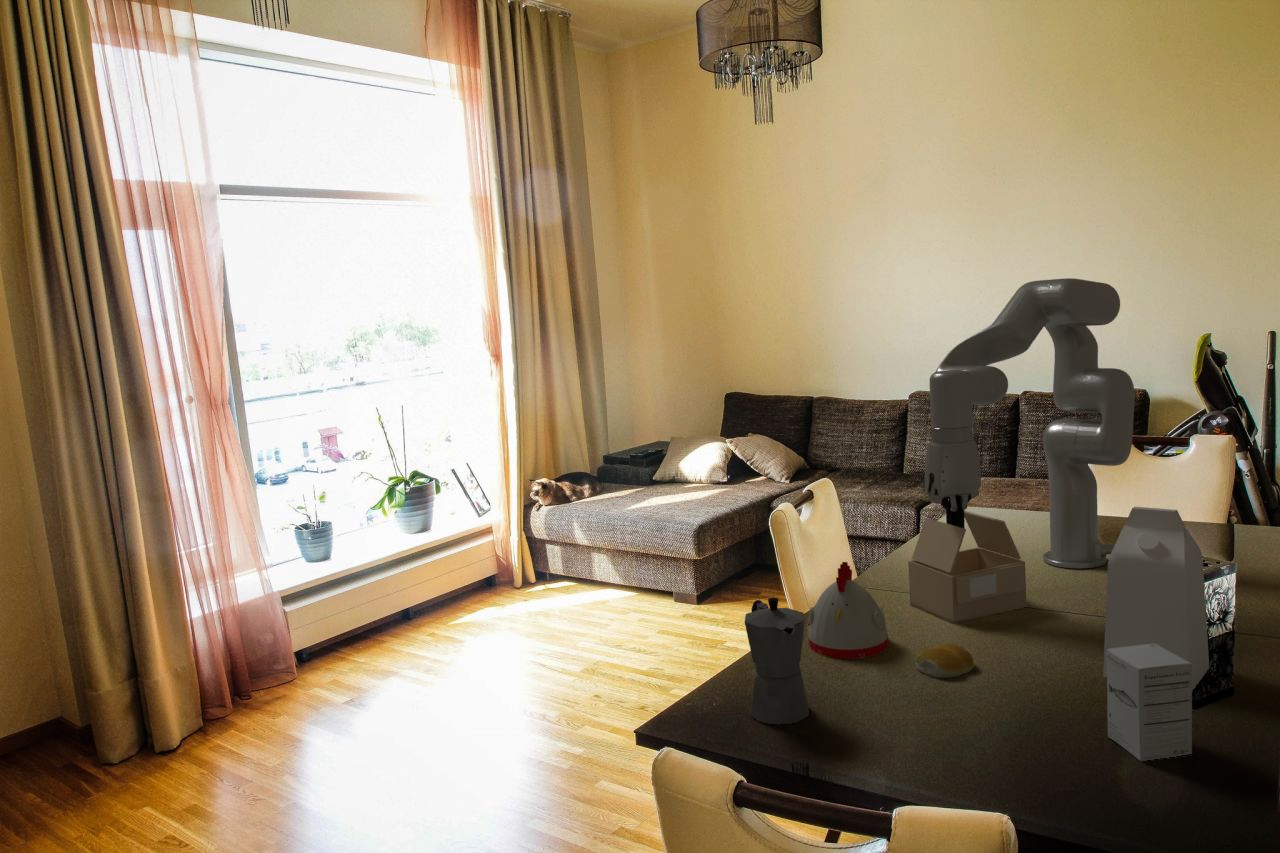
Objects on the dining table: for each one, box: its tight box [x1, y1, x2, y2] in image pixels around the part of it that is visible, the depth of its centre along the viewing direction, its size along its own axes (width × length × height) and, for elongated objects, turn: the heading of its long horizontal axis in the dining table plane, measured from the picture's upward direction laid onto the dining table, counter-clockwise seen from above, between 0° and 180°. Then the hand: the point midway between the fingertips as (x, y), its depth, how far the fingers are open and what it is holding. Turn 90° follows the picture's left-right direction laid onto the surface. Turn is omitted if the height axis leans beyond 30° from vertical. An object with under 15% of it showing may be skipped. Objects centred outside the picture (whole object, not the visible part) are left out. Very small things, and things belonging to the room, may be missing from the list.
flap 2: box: [964, 510, 1022, 560], centre depth 182 cm, size 1×11×9 cm, turn 21°
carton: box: [907, 546, 1027, 625], centre depth 181 cm, size 17×14×9 cm
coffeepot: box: [744, 597, 810, 726], centre depth 142 cm, size 15×9×18 cm, turn 13°
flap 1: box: [911, 517, 967, 573], centre depth 178 cm, size 1×11×9 cm, turn 21°
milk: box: [1102, 506, 1210, 692], centre depth 144 cm, size 12×12×26 cm
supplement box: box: [1106, 644, 1193, 762], centre depth 122 cm, size 7×7×13 cm
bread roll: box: [914, 643, 975, 679], centre depth 153 cm, size 8×9×4 cm
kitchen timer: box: [807, 561, 889, 659], centre depth 166 cm, size 14×14×15 cm
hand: (955, 529), depth 179 cm, fingers closed
